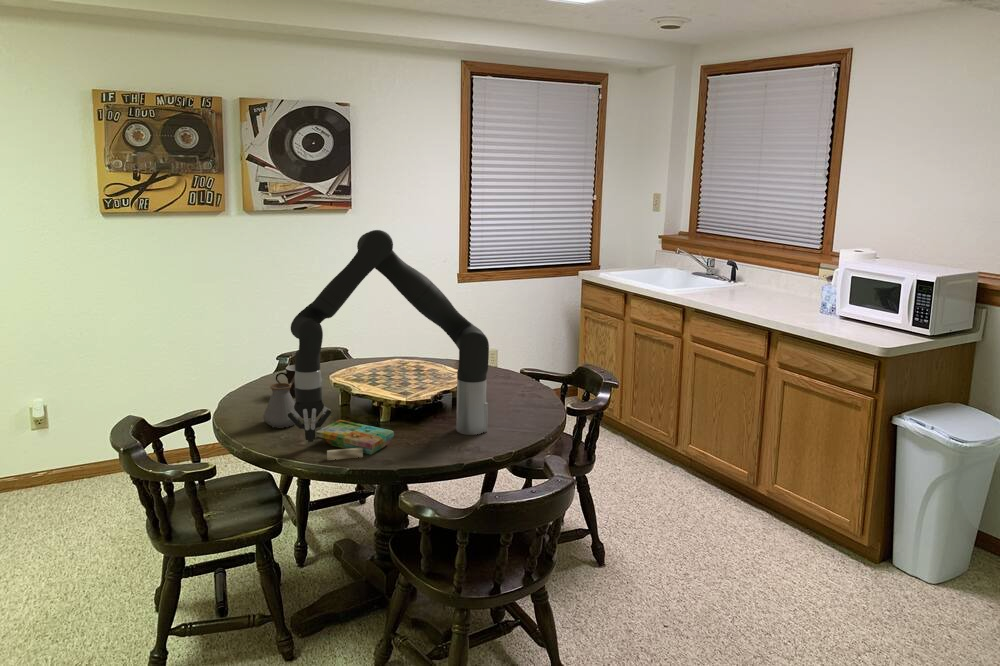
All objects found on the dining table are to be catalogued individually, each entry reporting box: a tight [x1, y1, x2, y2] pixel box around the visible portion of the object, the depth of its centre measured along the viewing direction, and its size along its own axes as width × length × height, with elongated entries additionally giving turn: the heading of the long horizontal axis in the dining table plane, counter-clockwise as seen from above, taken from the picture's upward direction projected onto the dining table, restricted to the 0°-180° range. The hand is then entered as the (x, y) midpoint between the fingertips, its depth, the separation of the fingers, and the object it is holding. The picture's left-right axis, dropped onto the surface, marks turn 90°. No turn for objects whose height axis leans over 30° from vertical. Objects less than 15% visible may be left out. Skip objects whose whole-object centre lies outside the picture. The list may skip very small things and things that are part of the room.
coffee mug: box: [275, 364, 295, 398], centre depth 277 cm, size 12×9×10 cm
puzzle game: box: [315, 419, 395, 455], centre depth 230 cm, size 12×5×20 cm
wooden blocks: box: [326, 448, 364, 461], centre depth 230 cm, size 10×20×2 cm, turn 17°
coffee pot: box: [262, 375, 301, 429], centre depth 250 cm, size 21×12×15 cm, turn 168°
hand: (310, 440), depth 227 cm, fingers closed
